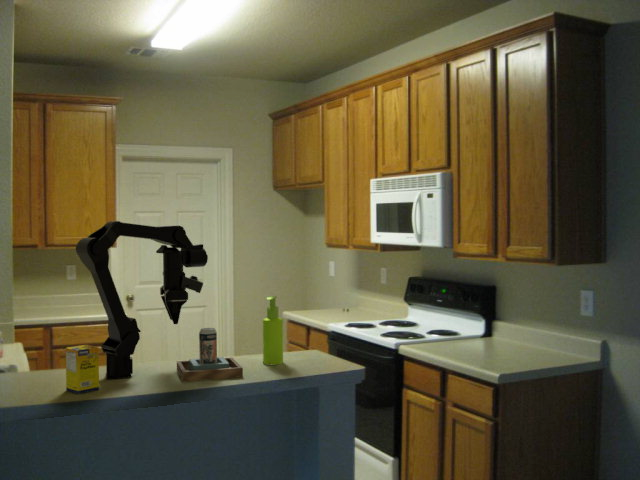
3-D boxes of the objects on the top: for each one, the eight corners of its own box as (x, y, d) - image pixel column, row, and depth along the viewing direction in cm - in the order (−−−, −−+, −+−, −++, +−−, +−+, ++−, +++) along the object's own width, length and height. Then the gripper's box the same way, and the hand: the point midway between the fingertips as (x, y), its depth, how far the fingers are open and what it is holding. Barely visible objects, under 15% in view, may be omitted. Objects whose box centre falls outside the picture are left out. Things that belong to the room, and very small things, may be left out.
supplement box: (99, 389, 173) (99, 346, 172) (77, 394, 168) (77, 350, 168) (87, 386, 177) (86, 344, 176) (65, 390, 172) (64, 347, 172)
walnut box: (183, 381, 181) (182, 372, 180) (176, 370, 195) (176, 361, 195) (242, 377, 185) (242, 367, 185) (232, 365, 200) (232, 357, 200)
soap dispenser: (260, 365, 200) (259, 297, 200) (266, 360, 207) (265, 294, 206) (279, 366, 199) (279, 297, 198) (285, 361, 206) (284, 295, 205)
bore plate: (193, 377, 184) (193, 366, 184) (189, 369, 193) (189, 359, 193) (229, 374, 187) (229, 363, 187) (223, 367, 196) (223, 356, 196)
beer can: (200, 374, 187) (199, 330, 187) (198, 370, 192) (198, 328, 191) (218, 373, 188) (217, 329, 188) (216, 369, 193) (215, 327, 193)
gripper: (205, 269, 193) (206, 325, 193) (196, 265, 211) (197, 316, 211) (165, 271, 189) (166, 327, 190) (159, 266, 207) (160, 318, 208)
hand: (173, 321), depth 200 cm, fingers open, 9 cm apart
